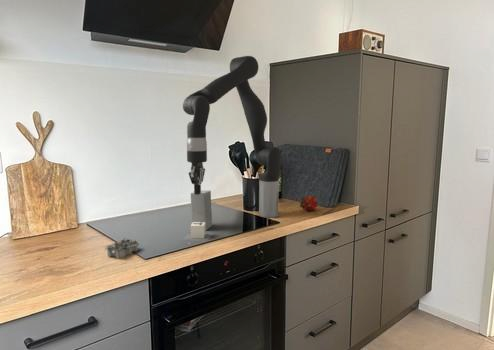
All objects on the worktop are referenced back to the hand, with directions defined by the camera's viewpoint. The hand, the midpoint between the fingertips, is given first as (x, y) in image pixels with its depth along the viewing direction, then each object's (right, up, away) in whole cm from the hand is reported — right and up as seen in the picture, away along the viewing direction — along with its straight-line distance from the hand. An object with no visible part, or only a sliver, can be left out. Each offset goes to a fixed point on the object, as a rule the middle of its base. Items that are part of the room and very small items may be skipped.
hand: (197, 194), depth 141 cm
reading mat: (0, -17, +3) cm, 17 cm away
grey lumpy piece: (-24, -20, -15) cm, 34 cm away
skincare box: (0, -15, +14) cm, 21 cm away
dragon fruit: (+51, -11, +45) cm, 69 cm away
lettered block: (0, -17, +3) cm, 17 cm away
